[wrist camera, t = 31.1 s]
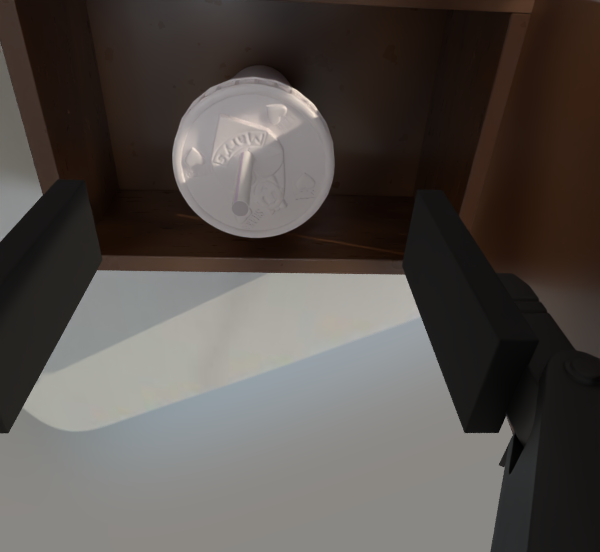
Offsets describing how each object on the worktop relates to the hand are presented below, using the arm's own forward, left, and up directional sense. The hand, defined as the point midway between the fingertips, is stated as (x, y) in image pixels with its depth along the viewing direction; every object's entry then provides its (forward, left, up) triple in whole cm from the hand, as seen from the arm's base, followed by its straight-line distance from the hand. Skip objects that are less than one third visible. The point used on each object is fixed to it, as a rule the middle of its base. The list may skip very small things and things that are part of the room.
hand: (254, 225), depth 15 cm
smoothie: (0, 0, -15) cm, 15 cm away
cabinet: (0, 0, -15) cm, 15 cm away
